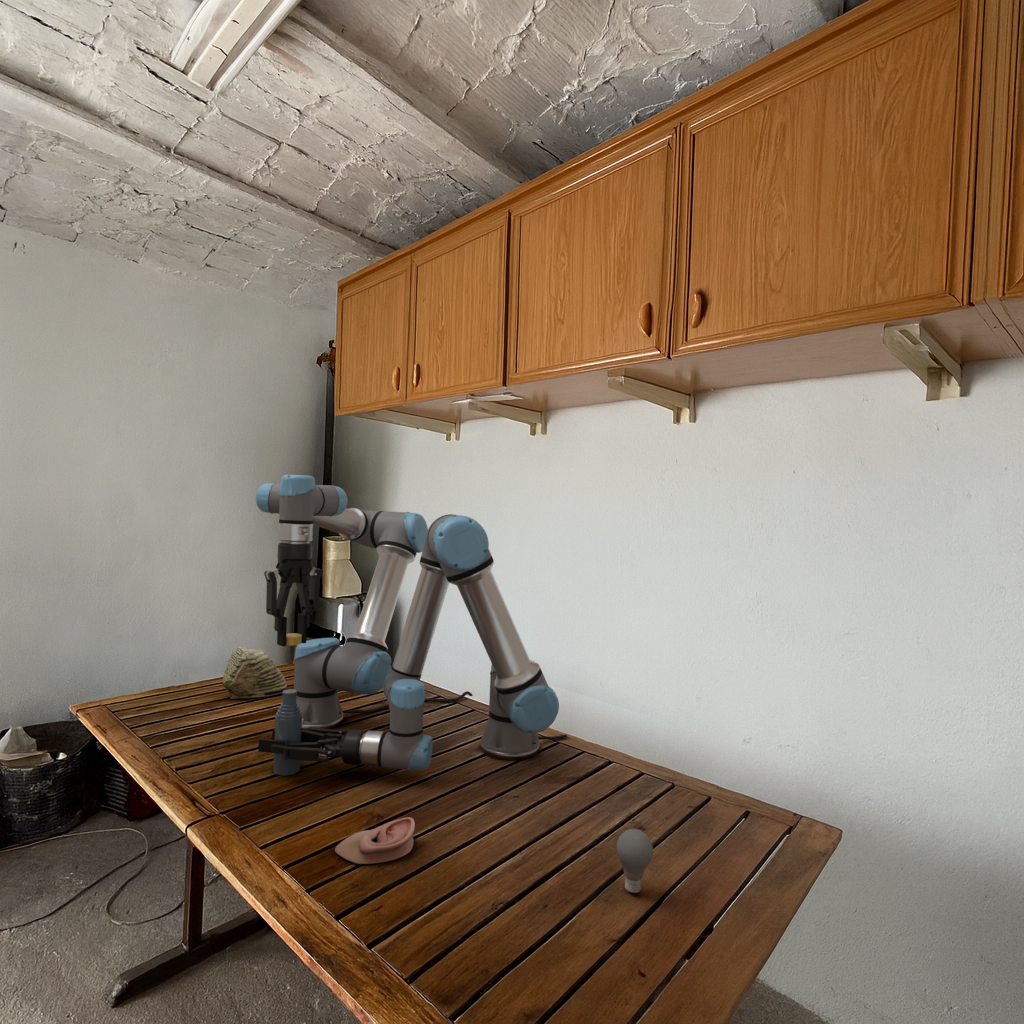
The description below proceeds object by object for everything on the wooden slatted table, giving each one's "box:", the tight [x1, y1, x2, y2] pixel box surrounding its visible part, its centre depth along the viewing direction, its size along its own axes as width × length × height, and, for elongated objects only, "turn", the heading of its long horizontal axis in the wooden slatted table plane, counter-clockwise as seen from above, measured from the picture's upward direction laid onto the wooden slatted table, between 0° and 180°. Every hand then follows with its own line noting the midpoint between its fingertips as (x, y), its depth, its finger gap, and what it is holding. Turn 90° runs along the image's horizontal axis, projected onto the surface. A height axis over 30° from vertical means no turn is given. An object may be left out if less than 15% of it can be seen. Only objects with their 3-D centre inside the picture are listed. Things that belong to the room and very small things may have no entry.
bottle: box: [272, 688, 302, 776], centre depth 146 cm, size 6×6×18 cm
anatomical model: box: [334, 816, 416, 865], centre depth 115 cm, size 13×4×12 cm
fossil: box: [222, 646, 288, 699], centre depth 198 cm, size 9×18×15 cm, turn 132°
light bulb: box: [615, 828, 654, 894], centre depth 106 cm, size 6×6×10 cm
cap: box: [286, 632, 302, 647], centre depth 145 cm, size 4×4×2 cm
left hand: (291, 643), depth 145 cm, fingers closed on cap, 4 cm apart
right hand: (266, 739), depth 146 cm, fingers closed on bottle, 6 cm apart
